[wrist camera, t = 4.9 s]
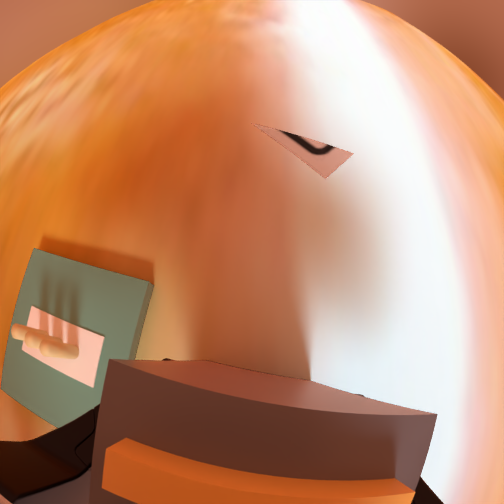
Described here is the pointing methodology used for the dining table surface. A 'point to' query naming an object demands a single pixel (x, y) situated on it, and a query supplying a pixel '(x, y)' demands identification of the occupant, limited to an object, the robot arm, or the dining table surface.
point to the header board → (70, 334)
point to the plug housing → (248, 439)
